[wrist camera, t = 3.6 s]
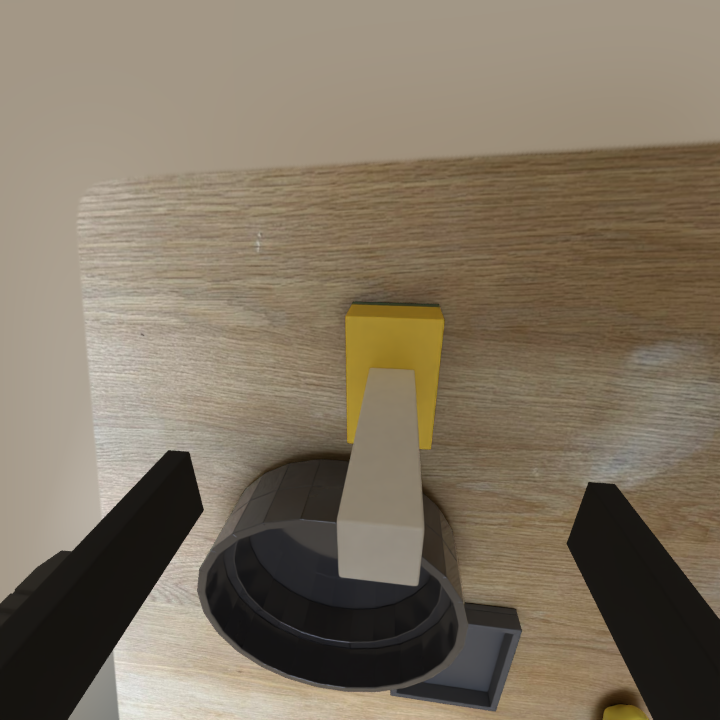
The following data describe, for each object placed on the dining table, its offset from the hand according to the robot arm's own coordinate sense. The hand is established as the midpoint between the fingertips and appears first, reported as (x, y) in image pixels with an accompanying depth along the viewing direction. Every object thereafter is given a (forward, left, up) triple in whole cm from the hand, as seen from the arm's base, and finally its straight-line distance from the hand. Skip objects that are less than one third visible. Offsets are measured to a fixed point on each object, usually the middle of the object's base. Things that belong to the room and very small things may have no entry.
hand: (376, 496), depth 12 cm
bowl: (-9, +14, -11) cm, 20 cm away
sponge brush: (0, 0, -11) cm, 11 cm away
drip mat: (-25, +16, -11) cm, 32 cm away
